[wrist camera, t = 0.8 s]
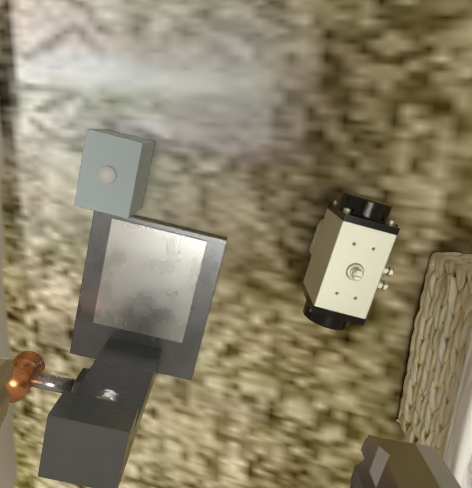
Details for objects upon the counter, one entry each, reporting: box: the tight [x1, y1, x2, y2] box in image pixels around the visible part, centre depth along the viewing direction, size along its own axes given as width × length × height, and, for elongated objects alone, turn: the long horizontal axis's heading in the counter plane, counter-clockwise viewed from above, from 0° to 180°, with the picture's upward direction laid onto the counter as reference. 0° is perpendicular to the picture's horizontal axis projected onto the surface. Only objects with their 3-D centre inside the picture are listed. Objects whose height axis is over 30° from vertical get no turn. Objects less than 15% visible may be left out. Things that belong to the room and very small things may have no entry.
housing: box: [74, 129, 155, 219], centre depth 41 cm, size 7×5×6 cm
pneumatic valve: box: [301, 191, 400, 330], centre depth 40 cm, size 6×12×12 cm, turn 165°
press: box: [38, 210, 227, 488], centre depth 40 cm, size 23×14×18 cm, turn 166°
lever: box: [5, 351, 75, 403], centre depth 40 cm, size 3×6×4 cm, turn 76°
